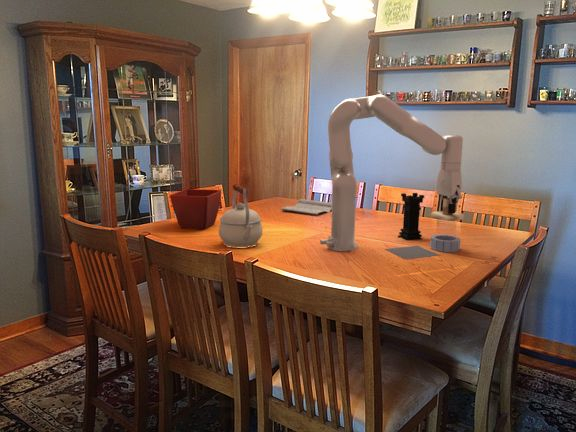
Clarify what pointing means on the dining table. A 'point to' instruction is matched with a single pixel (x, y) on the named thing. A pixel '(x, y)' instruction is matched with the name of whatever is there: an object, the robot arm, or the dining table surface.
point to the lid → (445, 215)
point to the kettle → (240, 223)
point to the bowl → (445, 243)
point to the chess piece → (411, 217)
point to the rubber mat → (411, 252)
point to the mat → (309, 207)
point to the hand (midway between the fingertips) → (447, 211)
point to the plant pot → (196, 207)
